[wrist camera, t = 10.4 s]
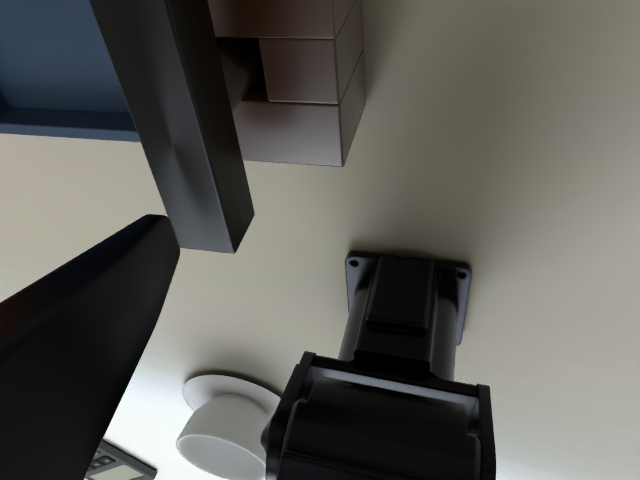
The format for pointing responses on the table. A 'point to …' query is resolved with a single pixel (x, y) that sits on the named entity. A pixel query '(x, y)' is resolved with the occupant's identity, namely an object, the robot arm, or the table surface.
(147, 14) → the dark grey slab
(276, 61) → the rack
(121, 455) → the calculator
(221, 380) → the teacup
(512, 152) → the table surface
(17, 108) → the tray
